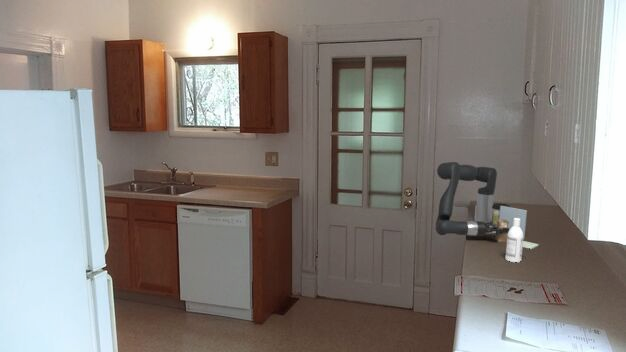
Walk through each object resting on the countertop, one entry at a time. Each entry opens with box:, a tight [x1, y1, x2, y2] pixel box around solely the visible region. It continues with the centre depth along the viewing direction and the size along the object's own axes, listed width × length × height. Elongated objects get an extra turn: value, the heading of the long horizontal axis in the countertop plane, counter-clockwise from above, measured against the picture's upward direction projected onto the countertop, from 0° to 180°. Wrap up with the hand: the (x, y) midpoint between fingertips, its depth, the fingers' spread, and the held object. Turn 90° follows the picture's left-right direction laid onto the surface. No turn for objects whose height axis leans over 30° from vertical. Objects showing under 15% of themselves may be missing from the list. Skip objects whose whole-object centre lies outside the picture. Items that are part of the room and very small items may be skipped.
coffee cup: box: [492, 202, 510, 225], centre depth 282 cm, size 10×10×15 cm
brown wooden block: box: [494, 220, 509, 243], centre depth 262 cm, size 4×5×11 cm
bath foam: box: [504, 218, 524, 263], centre depth 231 cm, size 7×7×20 cm
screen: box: [499, 206, 528, 241], centre depth 270 cm, size 14×6×16 cm, turn 45°
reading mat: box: [523, 240, 539, 250], centre depth 257 cm, size 9×9×1 cm
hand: (507, 229), depth 262 cm, fingers closed on brown wooden block, 4 cm apart
